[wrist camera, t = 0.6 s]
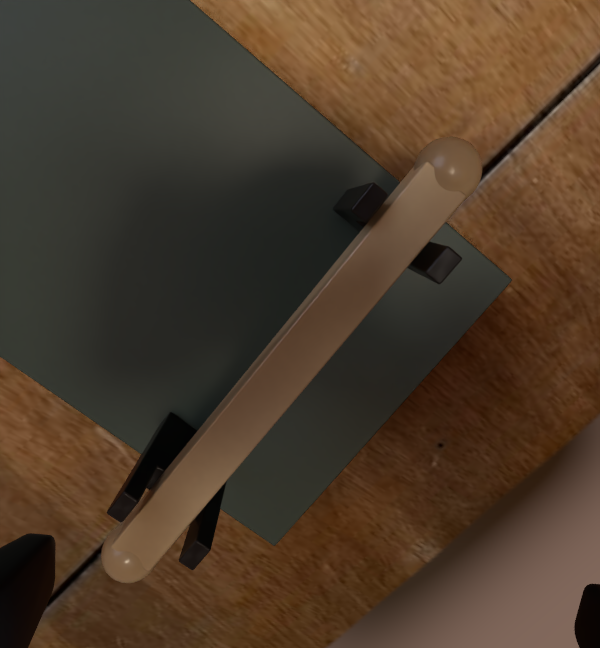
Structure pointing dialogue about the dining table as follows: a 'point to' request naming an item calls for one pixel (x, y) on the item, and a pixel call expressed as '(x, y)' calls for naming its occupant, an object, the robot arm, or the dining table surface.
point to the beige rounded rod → (296, 354)
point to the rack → (197, 248)
